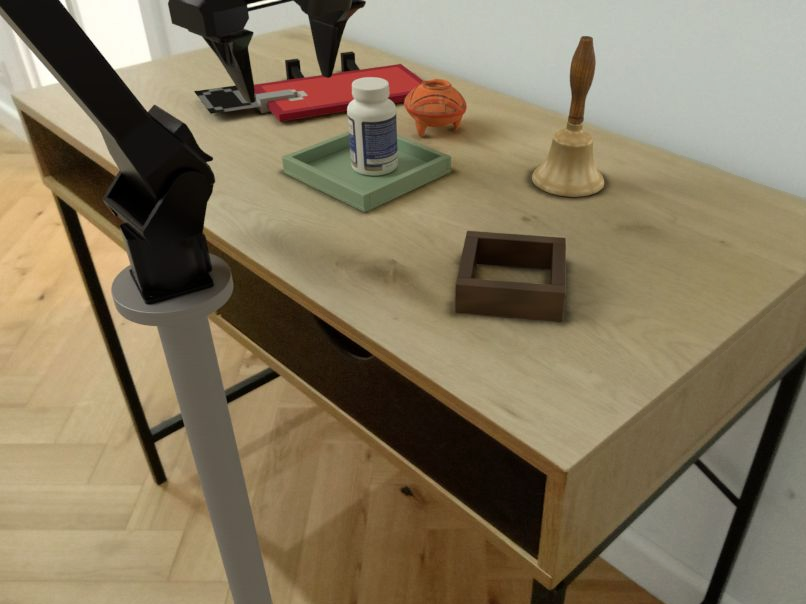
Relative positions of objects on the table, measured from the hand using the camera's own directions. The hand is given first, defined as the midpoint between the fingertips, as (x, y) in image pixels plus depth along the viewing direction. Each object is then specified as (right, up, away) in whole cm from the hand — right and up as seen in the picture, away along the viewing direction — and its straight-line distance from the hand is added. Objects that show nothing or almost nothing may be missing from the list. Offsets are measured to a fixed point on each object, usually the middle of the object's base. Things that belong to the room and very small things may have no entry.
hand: (289, 88), depth 74 cm
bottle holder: (+21, -19, -3) cm, 29 cm away
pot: (+13, +3, +26) cm, 29 cm away
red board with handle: (-4, +10, +34) cm, 36 cm away
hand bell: (+29, -6, +15) cm, 33 cm away
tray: (+6, -4, +16) cm, 17 cm away
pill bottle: (+6, -4, +16) cm, 17 cm away
